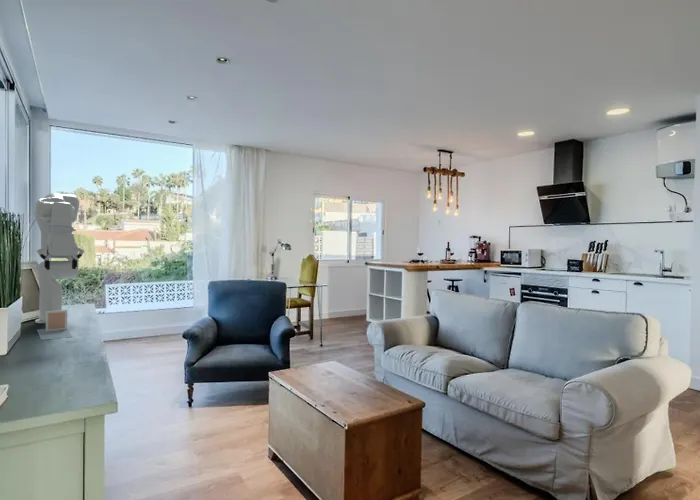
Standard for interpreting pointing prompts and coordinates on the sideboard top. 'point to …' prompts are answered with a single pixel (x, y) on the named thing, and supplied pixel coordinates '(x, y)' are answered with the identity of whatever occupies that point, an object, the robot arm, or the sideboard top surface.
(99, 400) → the sideboard top surface
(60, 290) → the robot arm
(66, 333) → the mat
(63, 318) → the picture frame
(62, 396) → the sideboard top surface
